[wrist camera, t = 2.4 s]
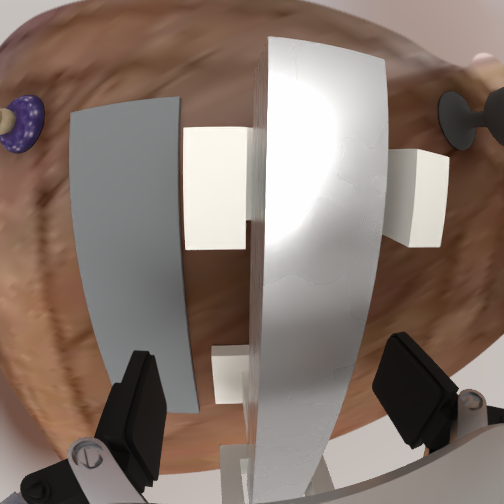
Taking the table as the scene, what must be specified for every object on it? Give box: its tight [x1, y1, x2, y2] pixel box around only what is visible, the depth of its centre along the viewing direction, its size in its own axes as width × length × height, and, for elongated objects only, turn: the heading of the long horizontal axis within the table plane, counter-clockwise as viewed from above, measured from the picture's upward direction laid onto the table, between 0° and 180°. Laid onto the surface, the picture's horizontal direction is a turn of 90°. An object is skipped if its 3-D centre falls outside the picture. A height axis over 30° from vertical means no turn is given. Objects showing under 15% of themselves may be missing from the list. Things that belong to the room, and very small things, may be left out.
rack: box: [183, 127, 449, 504], centre depth 12 cm, size 6×19×12 cm, turn 179°
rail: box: [247, 36, 388, 504], centre depth 8 cm, size 2×20×2 cm, turn 179°
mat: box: [69, 97, 200, 413], centre depth 16 cm, size 7×23×1 cm, turn 179°
